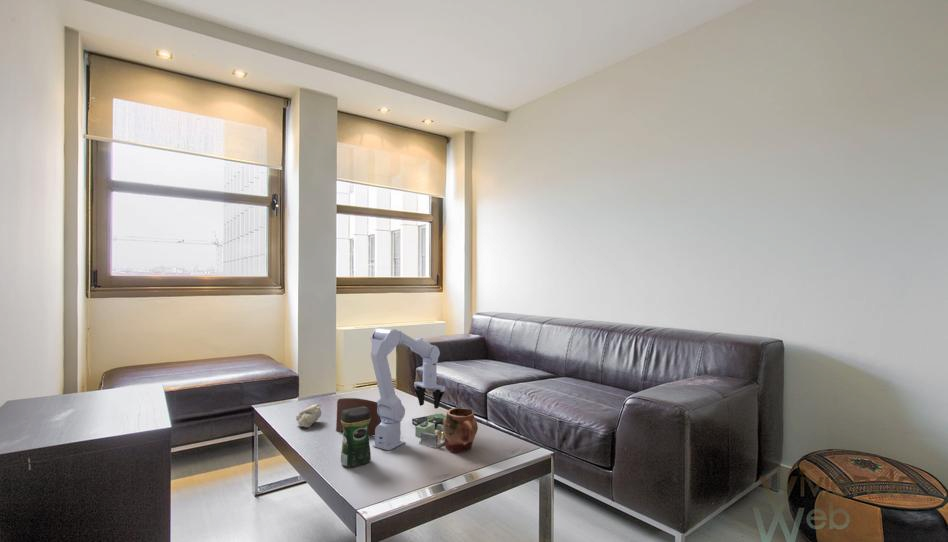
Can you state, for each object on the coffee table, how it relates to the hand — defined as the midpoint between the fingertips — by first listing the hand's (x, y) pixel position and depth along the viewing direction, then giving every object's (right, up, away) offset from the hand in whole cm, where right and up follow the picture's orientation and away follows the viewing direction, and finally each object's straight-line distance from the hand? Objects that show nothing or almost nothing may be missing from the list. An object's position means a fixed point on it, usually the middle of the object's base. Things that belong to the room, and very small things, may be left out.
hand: (429, 406), depth 183 cm
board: (-1, -10, -6) cm, 11 cm away
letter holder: (-27, -10, -1) cm, 29 cm away
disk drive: (+1, -10, +7) cm, 12 cm away
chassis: (+4, -9, -13) cm, 16 cm away
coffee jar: (-22, -9, -33) cm, 41 cm away
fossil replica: (-52, -9, +4) cm, 53 cm away
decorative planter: (+14, -10, -21) cm, 27 cm away
